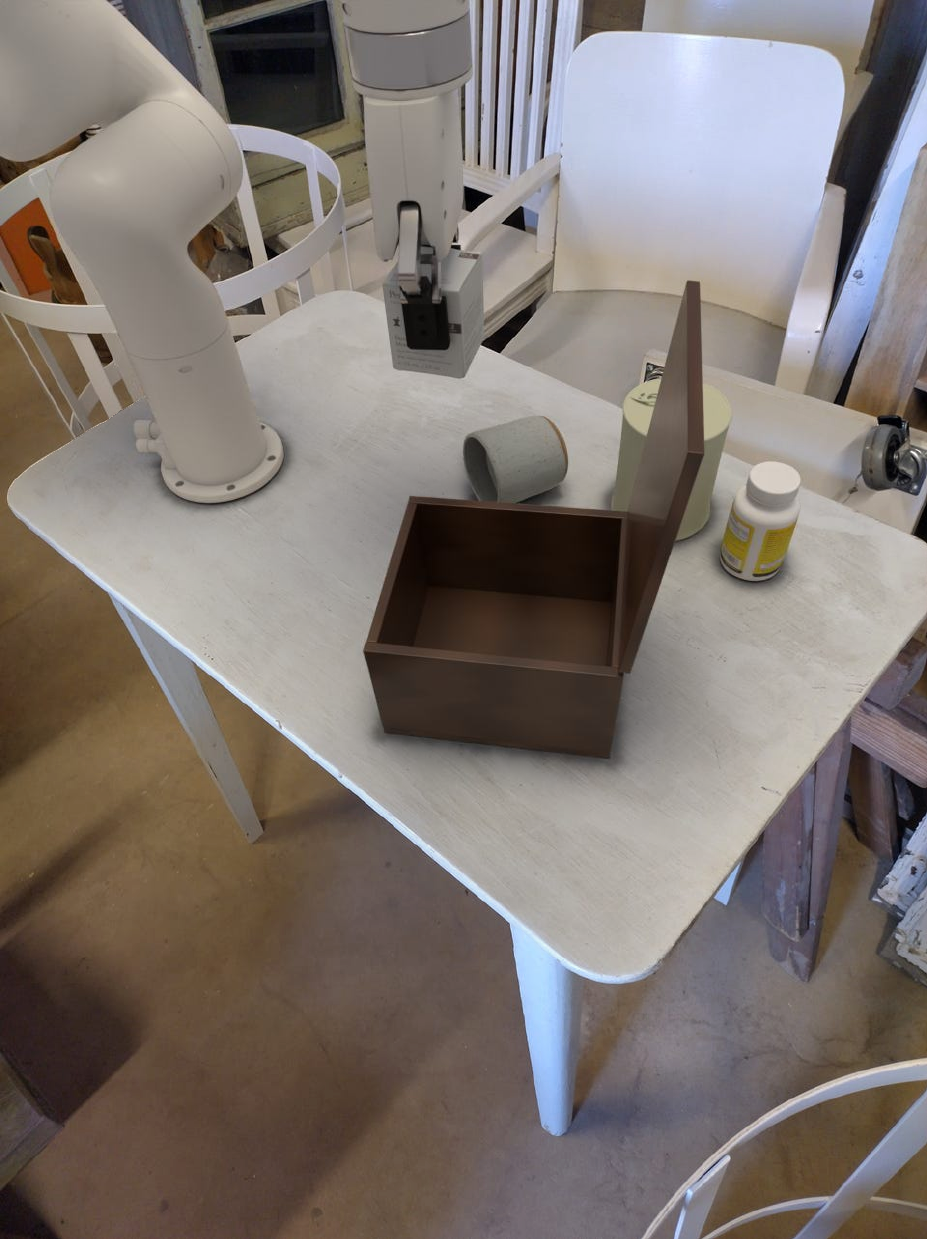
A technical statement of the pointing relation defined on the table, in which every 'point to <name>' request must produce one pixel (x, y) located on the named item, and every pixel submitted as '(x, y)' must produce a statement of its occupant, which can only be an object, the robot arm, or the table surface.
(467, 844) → the table surface
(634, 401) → the can
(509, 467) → the ceramic mug
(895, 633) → the table surface
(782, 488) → the supplement bottle
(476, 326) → the white cardboard box
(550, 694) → the chest
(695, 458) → the lid
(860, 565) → the table surface
